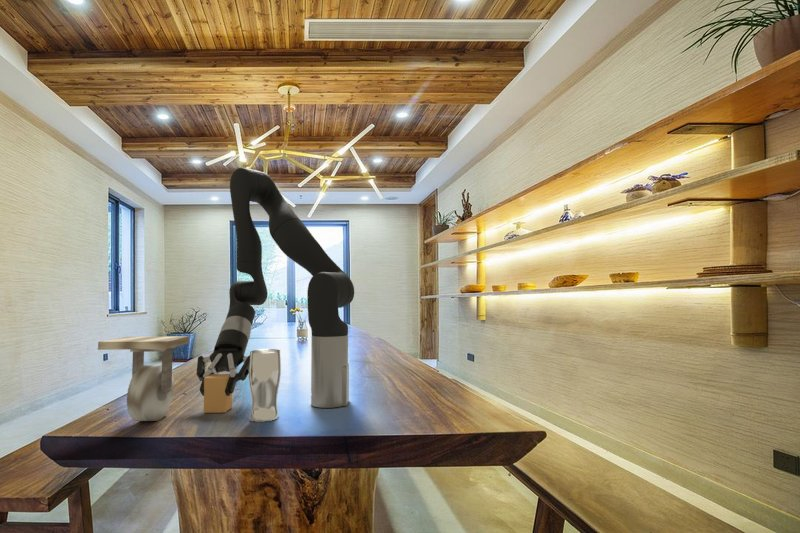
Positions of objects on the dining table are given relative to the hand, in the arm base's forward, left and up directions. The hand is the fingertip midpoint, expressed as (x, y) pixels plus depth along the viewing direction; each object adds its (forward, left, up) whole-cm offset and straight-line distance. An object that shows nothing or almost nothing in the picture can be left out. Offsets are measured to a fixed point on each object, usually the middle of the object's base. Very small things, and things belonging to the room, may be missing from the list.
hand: (215, 393), depth 103 cm
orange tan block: (0, -2, -4) cm, 5 cm away
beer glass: (-13, +5, -5) cm, 15 cm away
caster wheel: (+12, +5, -4) cm, 14 cm away
